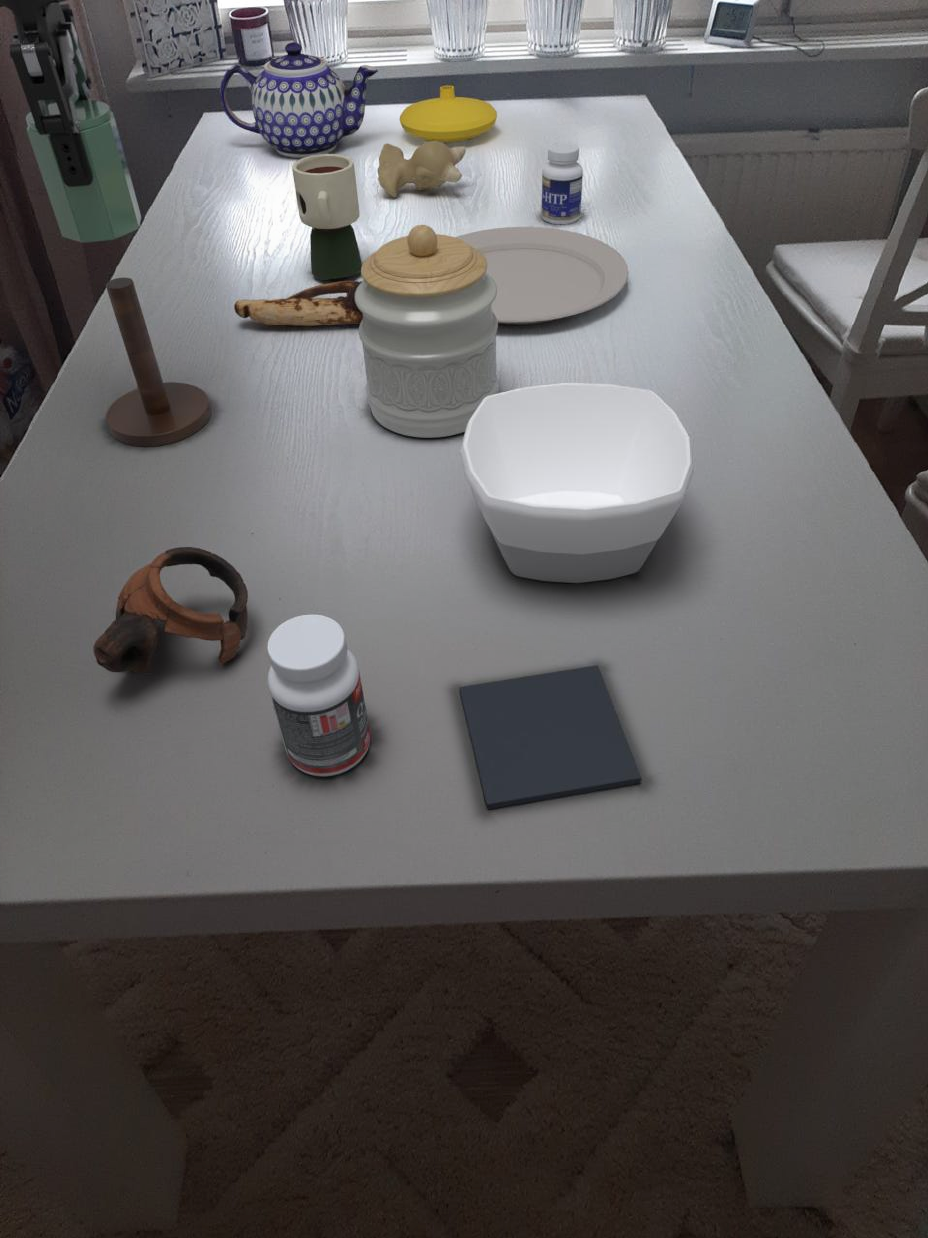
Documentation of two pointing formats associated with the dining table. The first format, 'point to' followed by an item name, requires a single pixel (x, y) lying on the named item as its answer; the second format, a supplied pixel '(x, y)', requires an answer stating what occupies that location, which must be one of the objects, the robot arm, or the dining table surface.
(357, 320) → the bone fish hook
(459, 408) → the jar
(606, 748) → the coaster
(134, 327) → the holder
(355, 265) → the character mug
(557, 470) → the bowl
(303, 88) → the teapot
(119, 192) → the cup
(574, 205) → the pill bottle
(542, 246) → the plate
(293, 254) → the dining table surface
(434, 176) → the cat figurine
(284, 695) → the pill bottle
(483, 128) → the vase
